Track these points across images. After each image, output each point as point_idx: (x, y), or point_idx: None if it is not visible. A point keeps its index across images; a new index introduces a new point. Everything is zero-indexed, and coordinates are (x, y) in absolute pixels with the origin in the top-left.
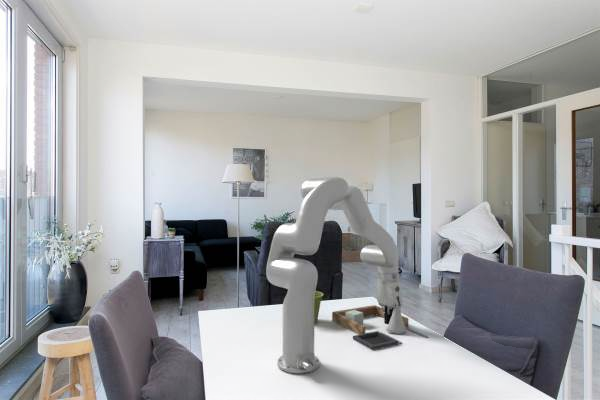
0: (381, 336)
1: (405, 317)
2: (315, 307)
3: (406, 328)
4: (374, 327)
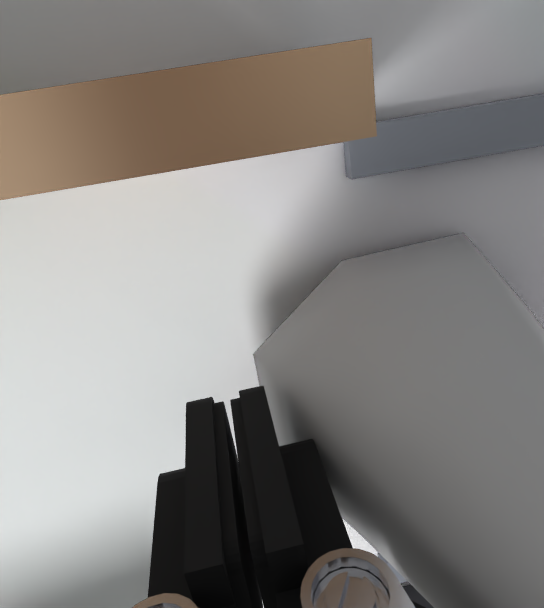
0: None
1: (280, 83)
2: None
3: (390, 170)
4: None
